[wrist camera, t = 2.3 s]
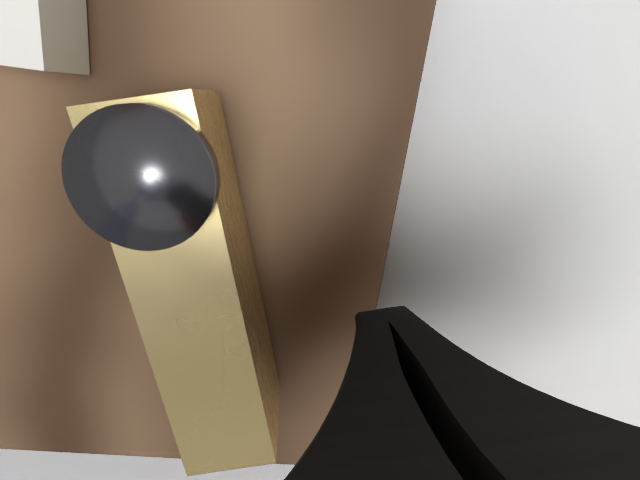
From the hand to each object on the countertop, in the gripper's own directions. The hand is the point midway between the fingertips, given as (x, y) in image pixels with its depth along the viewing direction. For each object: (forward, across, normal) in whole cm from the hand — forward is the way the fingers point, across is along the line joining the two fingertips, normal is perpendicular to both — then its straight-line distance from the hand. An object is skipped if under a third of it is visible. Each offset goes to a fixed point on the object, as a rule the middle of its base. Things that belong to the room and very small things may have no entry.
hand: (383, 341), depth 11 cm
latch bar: (+2, +5, -2) cm, 5 cm away
